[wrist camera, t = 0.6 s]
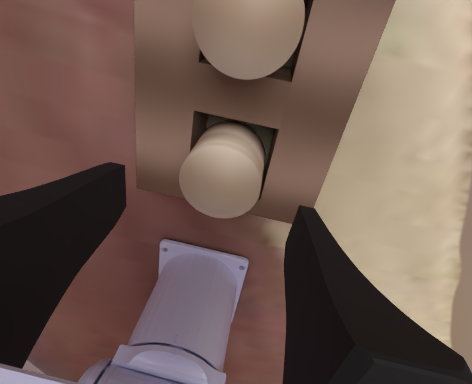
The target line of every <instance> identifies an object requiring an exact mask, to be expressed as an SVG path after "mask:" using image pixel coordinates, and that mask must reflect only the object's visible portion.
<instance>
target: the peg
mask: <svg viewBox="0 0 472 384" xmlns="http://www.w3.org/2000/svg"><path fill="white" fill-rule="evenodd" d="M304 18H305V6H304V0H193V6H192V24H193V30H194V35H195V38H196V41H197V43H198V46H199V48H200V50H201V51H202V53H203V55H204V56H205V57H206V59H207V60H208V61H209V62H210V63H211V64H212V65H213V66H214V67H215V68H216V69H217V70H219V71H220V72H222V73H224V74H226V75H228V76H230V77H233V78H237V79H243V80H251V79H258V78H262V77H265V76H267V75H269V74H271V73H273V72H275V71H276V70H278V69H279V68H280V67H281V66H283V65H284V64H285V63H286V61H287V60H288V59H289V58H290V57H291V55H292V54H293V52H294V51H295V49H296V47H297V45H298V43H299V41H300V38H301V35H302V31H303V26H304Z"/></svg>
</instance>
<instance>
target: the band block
mask: <svg viewBox="0 0 472 384" xmlns="http://www.w3.org/2000/svg"><path fill="white" fill-rule="evenodd" d="M395 1H396V0H308V3H307V7H306V11H305V18H304V26H303V31H302V35H301V38H300V41H299V43H298V45H297V47H296V50H295V54H294V57H293V61H292V65H291V68H289V67H284V66H281V67H280V68H279V69H278V70H276V71H275V72H273V73H271V74H269V75H267V76H265V77H262V78H258V79H251V80H243V79H237V78H233V77H230V76H228V75H226V74H224V73H222V72H220V71H219V70H217V69H216V68H215V67H214V66H213V65H212V64H211V63H210V62H209V61H208V60H207V59H206V57H205V56H204V55H203V53H202V51H201V50H200V48H199V46H198V43H197V41H196V38H195V35H194V30H193V24H192V6H193V0H134V37H135V107H136V178H137V188H139V189H143V190H147V191H152V192H156V193H160V194H165V195H169V196H173V197H178V198H182V199H185V197H184V195H183V193H182V191H181V188H180V184H179V173H180V169H181V166H182V164H183V163H184V161H185V160H186V158H187V157H188V155H189V154H190V152H191V151H192V149H193V148H194V146H195V145H196V143H197V142H198V140H199V139H200V137H201V136H202V134H203V133H204V132H205V131H206V123H207V115H208V114H212V115H216V116H221V117H226V118H230V119H235V120H239V121H244V122H248V123H253V124H257V125H262V126H266V127H271V128H275V131H274V135H273V138H272V142H271V146H270V150H269V154H268V158H267V162H266V165H265V169H264V170H263V176H262V183H261V189H260V195H259V198H258V200H257V202H256V203H255V205H254V206H253V207H252V208H251V209H250V210H249V211H248V212H246V213H247V214H252V215H256V216H260V217H265V218H269V219H273V220H278V221H282V222H286V223H291V224H293V221H294V218H295V216H296V213H297V210H298V207H299V205H302V206H306V207H311V208H314V205H315V203H316V200H317V198H318V195H319V193H320V190H321V187H322V185H323V182H324V180H325V177H326V175H327V172H328V170H329V167H330V165H331V162H332V160H333V157H334V155H335V152H336V150H337V147H338V145H339V142H340V140H341V137H342V135H343V132H344V129H345V127H346V124H347V122H348V119H349V117H350V114H351V112H352V109H353V107H354V104H355V102H356V99H357V97H358V94H359V92H360V89H361V87H362V84H363V82H364V79H365V76H366V74H367V71H368V69H369V66H370V64H371V61H372V59H373V56H374V54H375V51H376V49H377V46H378V44H379V41H380V39H381V36H382V34H383V31H384V29H385V26H386V24H387V21H388V18H389V16H390V13H391V11H392V8H393V6H394V3H395Z"/></svg>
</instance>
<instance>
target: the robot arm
mask: <svg viewBox="0 0 472 384" xmlns="http://www.w3.org/2000/svg"><path fill="white" fill-rule="evenodd" d="M125 207H126V184H125V165H121V164H117V163H112V162H109V163H105V164H102V165H99V166H96V167H93V168H90V169H87V170H85V171H82V172H79V173H76V174H74V175H71V176H68V177H65V178H62V179H59V180H56V181H53V182H50V183H47V184H44V185H41V186H37V187H34V188H31V189H27V190H23V191H20V192H15V193H11V194H7V195H3V196H0V384H225V381H226V374H225V373H223V372H222V371H223V366H224V360H225V354H226V349H227V343H228V337H229V332H230V326H231V323H232V321H233V317H234V314H235V310H236V307H237V303H238V300H239V296H240V293H241V289H242V286H243V282H244V278H245V275H246V271H247V268H248V264H249V261H248V259H247V258H245V257H241V256H236V255H232V254H228V253H224V252H219V251H215V250H211V249H206V248H202V247H198V246H194V245H189V244H185V243H181V242H177V241H172V240H168V239H163V240H162V241H161V242H160V252H159V276H158V280H157V282H156V285H155V287H154V289H153V291H152V293H151V295H150V297H149V299H148V301H147V304H146V306H145V308H144V310H143V312H142V314H141V316H140V318H139V320H138V323H137V325H136V327H135V329H134V331H133V333H132V335H131V337H130V339H129V342H128V344H127V345H122V344H121V345H120V346H119V348H118V350H117V352H116V354H115V356H114V358H113V359H109V358H102V359H101V360H99V361H98V362H97V363H96V364H94V365H92V366H91V367H90V368H88V369H87V371H86V372H85V373H84V374H83V375H82V377H81V378H80V380H79V381H78V383H76V382H72V381H68V380H64V379H60V378H56V377H52V376H48V375H44V374H40V373H36V372H32V371H28V370H24V369H22V368H23V366H24V364H25V362H26V360H27V358H28V356H29V354H30V352H31V351H32V349H33V347H34V345H35V343H36V341H37V340H38V338H39V336H40V334H41V332H42V331H43V329H44V327H45V325H46V323H47V322H48V320H49V318H50V317H51V315H52V313H53V312H54V310H55V308H56V306H57V305H58V303H59V301H60V300H61V298H62V296H63V295H64V293H65V292H66V290H67V289H68V287H69V285H70V284H71V282H72V281H73V279H74V278H75V276H76V275H77V273H78V272H79V271H80V269H81V268H82V266H83V265H84V264H85V263H86V261H87V260H88V259H89V258H90V256H91V255H92V254H93V253H94V251H95V250H96V249H97V248H98V246H99V245H100V244H101V243H102V241H103V240H104V239H105V238H106V236H107V235H108V234H109V233H110V231H111V230H112V229H113V227H114V226H115V225H116V223H117V221H118V220H119V218H120V216H121V215H122V213H123V211H124V209H125ZM165 248H167V249H165ZM241 266H243V267H241ZM284 278H285V298H286V343H285V359H284V374H283V384H472V373H471V371H470V369H469V367H468V365H467V363H466V361H465V360H464V358H463V357H462V356H461V355H459V354H457V353H456V352H455V351H453V350H452V349H451V348H449V347H448V346H446V345H445V344H444V343H442V342H441V341H439V340H438V339H436V338H435V337H434V336H432V335H431V334H429V333H428V332H427V331H425V330H424V329H423V328H422V327H420V326H419V325H418V324H417V323H415V322H414V321H413V320H412V319H410V318H409V317H408V316H407V315H405V314H404V313H403V312H402V311H401V310H399V309H398V308H397V307H396V306H395V305H394V304H393V303H391V302H390V301H389V300H388V299H387V298H386V297H385V296H384V295H383V294H382V293H381V292H380V291H379V290H377V289H376V288H375V287H374V286H373V285H372V284H371V283H370V281H369V280H368V279H367V278H366V277H365V276H364V275H363V274H362V273H361V272H360V271H359V270H358V268H357V267H356V266H355V265H354V264H353V263H352V261H351V260H350V259H349V258H348V256H347V255H346V254H345V253H344V251H343V250H342V249H341V247H340V246H339V245H338V243H337V242H336V240H335V239H334V237H333V236H332V235H331V233H330V232H329V230H328V229H327V227H326V225H325V224H324V222H323V221H322V219H321V218H320V216H319V215H318V213H317V211H316V210H315V208H311V207H306V206H302V205H299V207H298V210H297V213H296V216H295V218H294V221H293V224H292V227H291V230H290V232H289V235H288V238H287V241H286V246H285V257H284Z"/></svg>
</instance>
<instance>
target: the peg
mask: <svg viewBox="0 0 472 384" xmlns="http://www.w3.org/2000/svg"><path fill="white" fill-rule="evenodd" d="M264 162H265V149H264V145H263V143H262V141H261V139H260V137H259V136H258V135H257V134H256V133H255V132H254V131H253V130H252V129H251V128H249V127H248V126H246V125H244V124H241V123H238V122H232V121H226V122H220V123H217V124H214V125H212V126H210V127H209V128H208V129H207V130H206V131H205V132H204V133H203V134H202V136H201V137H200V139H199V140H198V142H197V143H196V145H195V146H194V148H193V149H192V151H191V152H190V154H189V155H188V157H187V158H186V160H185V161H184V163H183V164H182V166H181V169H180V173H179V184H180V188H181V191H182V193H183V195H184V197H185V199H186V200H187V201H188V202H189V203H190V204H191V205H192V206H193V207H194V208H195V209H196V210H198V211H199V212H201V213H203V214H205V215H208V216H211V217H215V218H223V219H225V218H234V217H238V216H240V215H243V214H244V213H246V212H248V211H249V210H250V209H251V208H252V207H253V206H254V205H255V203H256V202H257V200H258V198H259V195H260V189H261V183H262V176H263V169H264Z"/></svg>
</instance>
